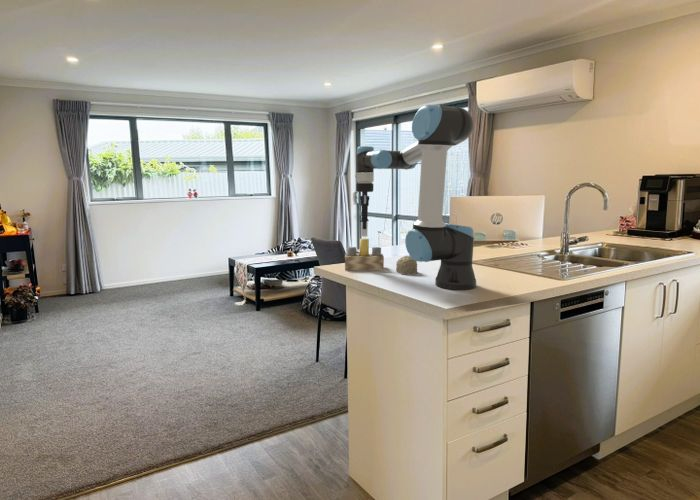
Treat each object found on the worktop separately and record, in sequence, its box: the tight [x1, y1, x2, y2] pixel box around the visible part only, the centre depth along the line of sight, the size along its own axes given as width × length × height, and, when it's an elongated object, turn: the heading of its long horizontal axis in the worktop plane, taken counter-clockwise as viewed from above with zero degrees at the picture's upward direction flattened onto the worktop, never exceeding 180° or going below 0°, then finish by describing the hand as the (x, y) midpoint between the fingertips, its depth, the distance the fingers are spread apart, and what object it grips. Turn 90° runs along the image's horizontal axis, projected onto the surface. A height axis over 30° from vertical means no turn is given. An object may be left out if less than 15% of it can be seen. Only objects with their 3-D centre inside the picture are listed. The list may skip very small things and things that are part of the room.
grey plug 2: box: [371, 246, 382, 256], centre depth 209 cm, size 4×4×9 cm
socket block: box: [344, 253, 385, 271], centre depth 210 cm, size 17×8×6 cm, turn 90°
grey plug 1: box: [346, 246, 357, 256], centre depth 209 cm, size 4×4×9 cm
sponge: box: [395, 255, 418, 275], centre depth 201 cm, size 9×10×10 cm
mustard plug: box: [359, 238, 370, 256], centre depth 209 cm, size 4×4×9 cm
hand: (364, 236), depth 208 cm, fingers closed
